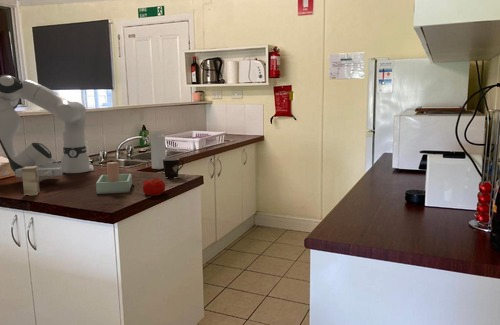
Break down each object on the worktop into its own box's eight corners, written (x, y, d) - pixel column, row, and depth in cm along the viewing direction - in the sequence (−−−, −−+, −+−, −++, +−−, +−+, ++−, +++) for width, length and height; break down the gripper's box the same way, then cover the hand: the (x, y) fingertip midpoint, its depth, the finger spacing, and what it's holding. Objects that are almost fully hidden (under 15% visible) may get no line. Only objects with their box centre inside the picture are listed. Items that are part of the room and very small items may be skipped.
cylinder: (109, 187, 191) (107, 162, 189) (120, 187, 192) (119, 161, 190) (107, 190, 186) (105, 164, 184) (119, 189, 187) (117, 163, 185)
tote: (102, 184, 200) (101, 174, 200) (131, 183, 203) (131, 173, 202) (96, 193, 183) (95, 182, 182) (129, 192, 186) (128, 181, 185)
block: (27, 193, 185) (25, 166, 183) (39, 192, 186) (37, 166, 184) (24, 195, 180) (21, 168, 178) (36, 195, 181) (34, 168, 179)
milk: (151, 168, 243) (149, 131, 240) (158, 166, 249) (157, 130, 245) (159, 169, 240) (157, 131, 237) (166, 167, 246) (164, 130, 242)
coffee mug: (164, 180, 211) (164, 160, 210) (161, 176, 219) (161, 158, 217) (187, 178, 215) (186, 159, 214) (183, 175, 223) (183, 157, 222)
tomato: (143, 198, 176) (142, 183, 175) (142, 192, 186) (141, 178, 185) (166, 196, 179) (166, 181, 178) (164, 190, 189) (163, 176, 188)
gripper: (19, 163, 200) (9, 169, 187) (64, 162, 204) (58, 167, 191) (21, 176, 201) (11, 182, 188) (65, 175, 205) (59, 180, 192)
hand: (35, 175), depth 189 cm, fingers open, 8 cm apart
